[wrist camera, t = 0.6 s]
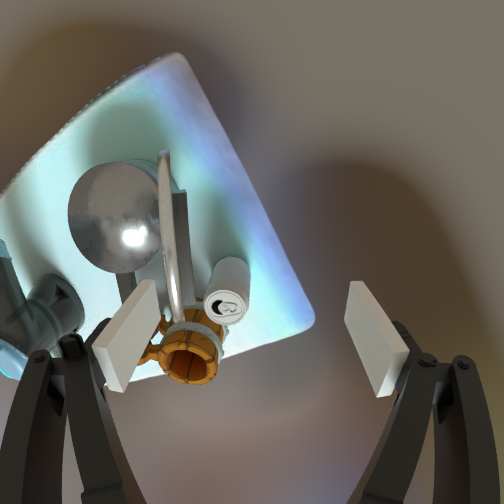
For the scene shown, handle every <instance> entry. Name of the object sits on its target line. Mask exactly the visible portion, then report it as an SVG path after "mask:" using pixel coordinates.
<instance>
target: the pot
mask: <svg viewBox="0 0 504 504" xmlns="http://www.w3.org/2000/svg"><path fill="white" fill-rule="evenodd" d="M170 177H171V176H170ZM173 190H178V187H177V185H176V183H175V181H174V180H173V178H172V177H171V191H173ZM68 223H69V228H70V232H71V235H72V238H73V240H74V242H75V244H76V246H77V247H78V249H79V250H80V252H81V253H82V254H83V256H84V257H85V258H86V259H87V260H88V261H90V262H91V263H92V264H93V265H95V266H96V267H98V268H100V269H102V270H105V271H107V272H111V273H115V274H116V279H117V283H118V288H119V293H120V297H121V301H122V305H123V304H124V302H125V301H126V300H127V298H128V297H129V296H130V295H131V293H132V292H133V291H134V290H135V288H136V287H137V284H136V278H135V273H134V271H135V270H137V269H139V268H141V267H142V266H144V265H145V264H146V263H147V262H148V261H149V260H150V259H151V258H152V257H153V256H154V255H155V254H156V253H157V251H158V250H159V249H160V248H161V247H162V242H161V232H160V219H159V203H158V165H157V164H155V163H153V162H151V161H147V160H128V161H120V162H113V163H106V164H101V165H98V166H95V167H93V168H91V169H90V170H88V171H87V172H85V173H84V174H83V175H82V176H81V177H80V178H79V180H78V181H77V183H76V184H75V186H74V188H73V190H72V192H71V195H70V199H69V203H68Z"/></svg>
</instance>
